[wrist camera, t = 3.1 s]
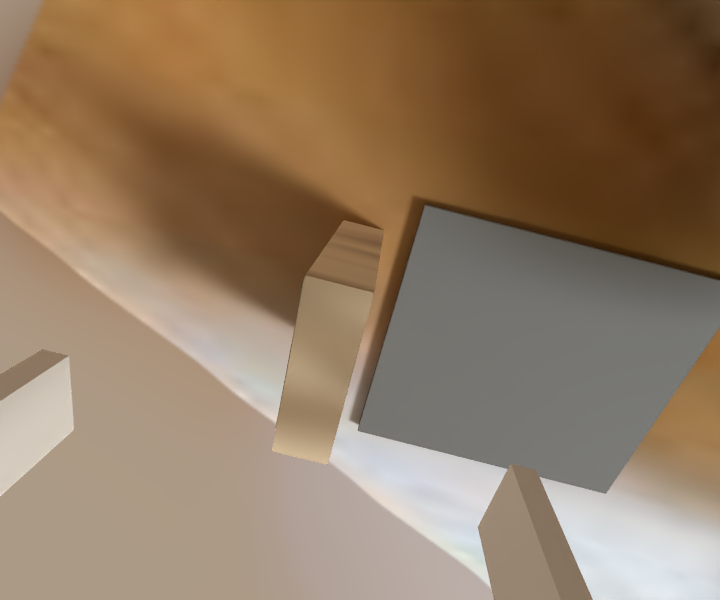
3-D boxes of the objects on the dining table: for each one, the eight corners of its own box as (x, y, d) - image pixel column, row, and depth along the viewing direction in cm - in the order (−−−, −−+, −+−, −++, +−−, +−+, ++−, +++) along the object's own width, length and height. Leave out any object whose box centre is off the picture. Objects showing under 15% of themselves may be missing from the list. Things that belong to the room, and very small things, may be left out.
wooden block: (341, 219, 22) (300, 274, 13) (384, 230, 22) (374, 292, 13) (315, 338, 25) (268, 450, 16) (353, 347, 25) (327, 465, 16)
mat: (424, 203, 21) (425, 205, 21) (737, 284, 22) (746, 287, 21) (358, 425, 28) (358, 430, 27) (601, 486, 28) (605, 493, 27)
